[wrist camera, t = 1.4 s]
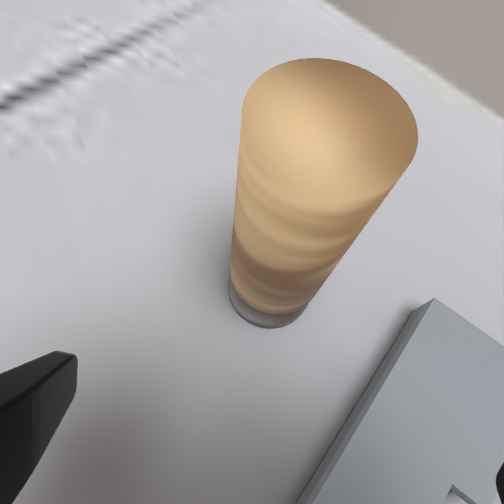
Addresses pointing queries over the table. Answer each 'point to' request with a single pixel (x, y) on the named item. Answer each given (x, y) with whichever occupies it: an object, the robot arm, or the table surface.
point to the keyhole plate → (422, 420)
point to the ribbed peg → (310, 179)
